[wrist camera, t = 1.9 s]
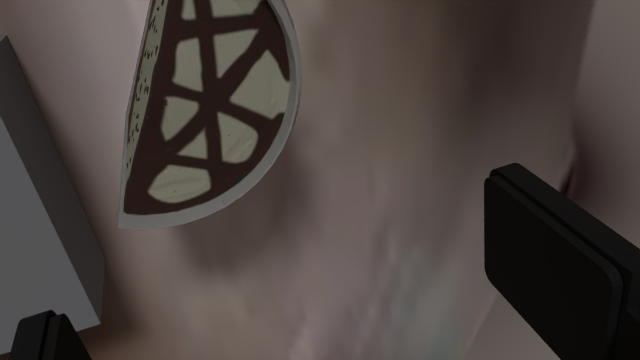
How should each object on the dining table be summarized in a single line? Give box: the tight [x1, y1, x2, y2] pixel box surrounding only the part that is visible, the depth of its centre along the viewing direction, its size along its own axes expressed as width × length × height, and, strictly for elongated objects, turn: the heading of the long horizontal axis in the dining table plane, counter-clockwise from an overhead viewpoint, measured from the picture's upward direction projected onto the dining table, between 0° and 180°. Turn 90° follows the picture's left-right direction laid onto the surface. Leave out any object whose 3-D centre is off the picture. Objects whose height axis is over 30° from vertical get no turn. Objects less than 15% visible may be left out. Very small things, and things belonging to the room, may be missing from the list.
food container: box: [117, 0, 302, 230], centre depth 25 cm, size 12×6×10 cm, turn 160°
